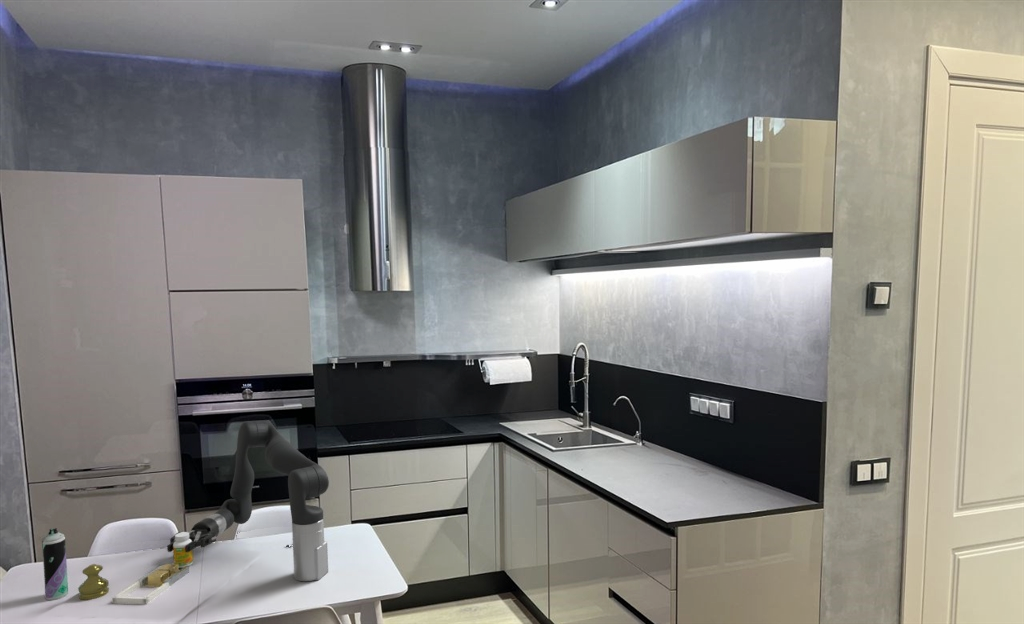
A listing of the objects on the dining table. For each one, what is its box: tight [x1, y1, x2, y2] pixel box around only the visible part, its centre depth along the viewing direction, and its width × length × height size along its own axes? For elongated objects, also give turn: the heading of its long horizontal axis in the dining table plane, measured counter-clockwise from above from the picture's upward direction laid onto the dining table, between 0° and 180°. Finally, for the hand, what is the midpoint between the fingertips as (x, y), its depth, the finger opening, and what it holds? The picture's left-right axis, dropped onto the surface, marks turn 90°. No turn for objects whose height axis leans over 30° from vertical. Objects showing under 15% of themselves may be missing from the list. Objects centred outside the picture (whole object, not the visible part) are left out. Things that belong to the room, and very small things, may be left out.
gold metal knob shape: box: [77, 563, 110, 601], centre depth 188 cm, size 7×7×10 cm
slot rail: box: [137, 564, 190, 588], centre depth 196 cm, size 10×9×4 cm
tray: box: [111, 581, 170, 605], centre depth 186 cm, size 10×10×3 cm
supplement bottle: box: [172, 531, 194, 569], centre depth 205 cm, size 5×5×10 cm
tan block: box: [148, 570, 169, 586], centre depth 194 cm, size 4×4×3 cm
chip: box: [158, 563, 180, 577], centre depth 198 cm, size 4×4×3 cm
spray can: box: [41, 527, 69, 601], centre depth 190 cm, size 6×6×20 cm
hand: (177, 549), depth 203 cm, fingers closed on supplement bottle, 5 cm apart
